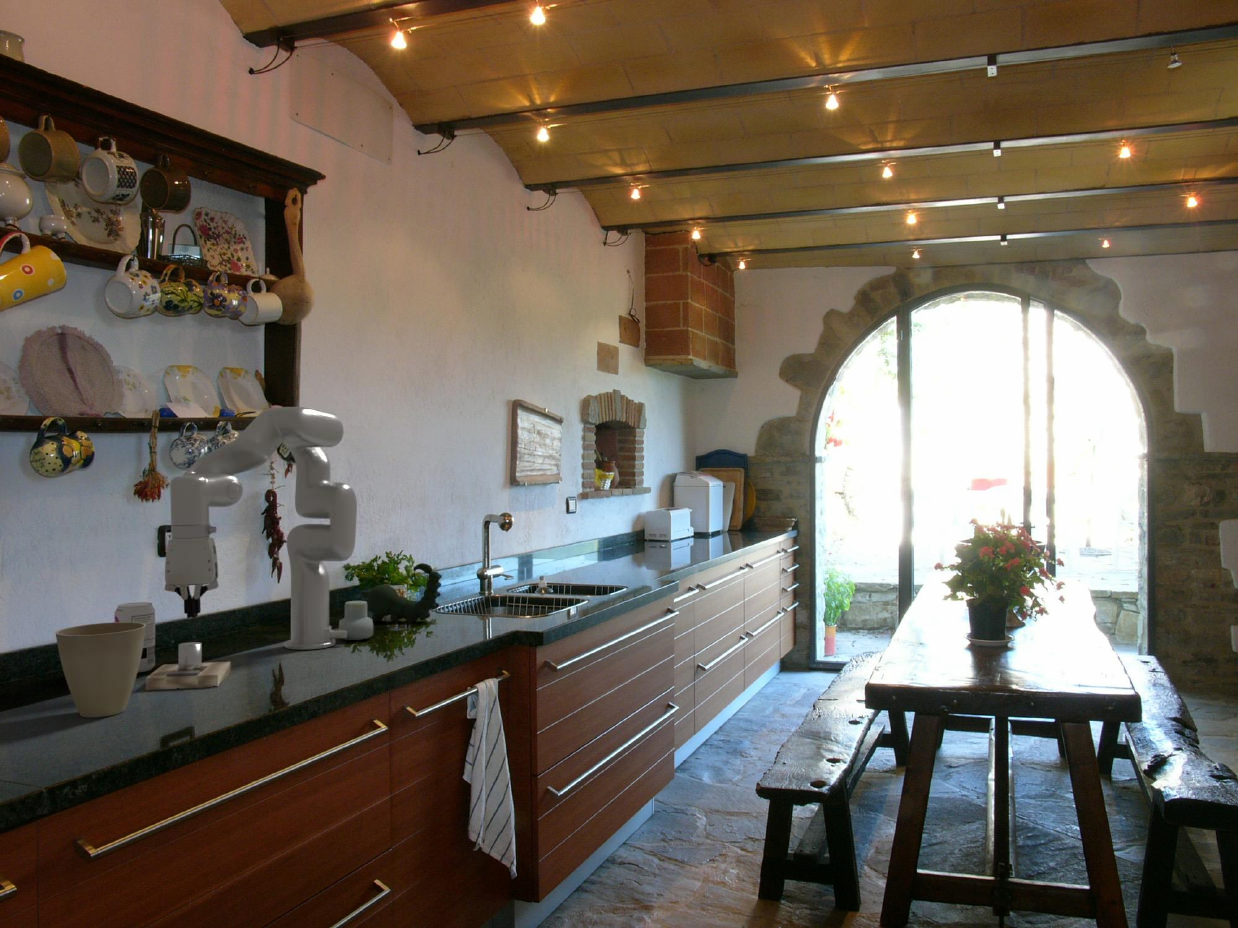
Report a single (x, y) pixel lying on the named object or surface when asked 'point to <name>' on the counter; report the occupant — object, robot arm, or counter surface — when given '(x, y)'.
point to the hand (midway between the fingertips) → (192, 616)
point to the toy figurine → (403, 600)
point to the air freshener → (356, 621)
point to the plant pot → (101, 664)
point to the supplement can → (145, 615)
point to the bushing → (190, 656)
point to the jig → (188, 676)
